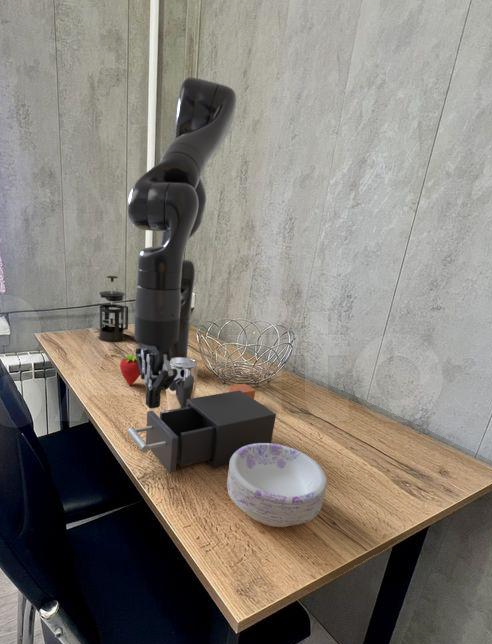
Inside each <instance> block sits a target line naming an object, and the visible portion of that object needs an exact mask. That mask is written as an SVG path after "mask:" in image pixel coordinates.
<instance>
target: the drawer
mask: <svg viewBox="0 0 492 644" xmlns="http://www.w3.org/2000/svg"><path fill="white" fill-rule="evenodd" d="M126 431H127V434H128V436H129V437H130V438H131V439H132V440H133V442H134V443H135V444H136V446H137V447H138V449H140V451H141V452H142V453H144V454H145V453H147V452H148V451H151V452H152V454H154V455H155V457H156V458H157V459H158V460H159V462H160V463H161V464H162V465H163V467H164V468H165V469H166V471H168V473H169V474H173V473H176V472H177V471H176V470H177V465H178V466H179V467H185V466H189V465H194V464H196V463H201V462H205V461H207V460H209V459H213V452H214V444H215V435H216V427H215V426H214V425H212V424H211V423H210V422H209V421H208V420H206V419H205V418H204V417H203V416H202V415H201V414H199V413H198V412H197V411H196V410H195V409H194V408H192V407H191V406H190V407H185V408H179V409H173V410H168V411H167V410H162V411H159V416H158V415H157V413H156V412H155V411H154V410H148V411H147V412H146V426H144V427H138V428H134V427H132V426H130V427H128V428H127V430H126ZM143 432H145V440H144V439H143V438H142V437H141V435H140V434H139V433H143Z"/></svg>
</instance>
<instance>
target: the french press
mask: <svg viewBox="0 0 492 644" xmlns="http://www.w3.org/2000/svg"><path fill="white" fill-rule="evenodd" d="M106 279H110V283H111V290H105V291H100V292H99V295H100V298H101V299H105V300H106V301H108V302H110V303H105V304H101V305H99V335H98V339H99V340H100V341H104V342H109V343H114V342H121V341H123V340H124V339H125V336H124V334H125V333H124V332H125V331H127V330H128V329H129V306H127V305H122V304H116V303H115V302H122V301H123V300H124V296H125V293H124V292H122V291H115V290H113V286H114V285H113V284H114V280H115V279H119V277H118V276H117V275H107V276H106ZM113 302H114V303H113ZM103 313H104V318H103ZM124 313H125V316H124ZM110 314H111V316H110ZM113 314H114V318H113ZM124 317H125V318H124ZM124 319H125V320H124ZM102 324H103V325H104V327H102ZM124 324H125V325H124Z"/></svg>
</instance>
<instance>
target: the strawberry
mask: <svg viewBox="0 0 492 644" xmlns="http://www.w3.org/2000/svg"><path fill="white" fill-rule="evenodd" d="M134 354H135V351H133V352H132V354H131V355H130V354H126V356H122V358H123V359H121V361H120V364H119V369H120V372H121V375H122V376H123V378H124V380H125V381H126V383H127V384H128V385H129V386H132V385H134V383H136V381H137V380H138V379H139V378H140V377H141V375H140V371H139V366H138V362H137V357H136V356H135V355H134Z"/></svg>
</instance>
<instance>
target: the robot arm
mask: <svg viewBox="0 0 492 644" xmlns="http://www.w3.org/2000/svg"><path fill="white" fill-rule="evenodd" d="M236 109H237V94H236V91H235V89H233V87H230V86H228V85H225V84H222V83H218V82H214V81H210V80H206V79H202V78H197V77H194V76H193V77H192V76H189V77H187V78H185V79H184V80H183V81H182V84H181V86H180V88H179V92H178V96H177V101H176V108H175V120H174V133H173V140H172V142H171V143H170V144H169V145H168V146H167V148H166V150H165V152H164V153H163V155H162V157H161V159H160V160H159V161H160V162H159V163H157V164H155V165H154V166H153V167H151V168H150V169H149V170H148V171H146V172H145V173H144V174H143V175H142V176H140V177H139V178H138V179H137V181H136V182H135V183H134V185H133V186H132V187H131V189H130V192H129V195H128V198H127V202H126V205H127V207H126V208H127V215H128V218H129V220H130V222H131V223H132V225H133V226H135V227H136V228H137V229H140V230H143V231H149V232H151V231H152V232H162V233H161V242H160V245H156V246H148V247H143V248H142V249H141V250H140V252H139V253H138V259H137V261H138V262H137V285H136V291H135V292H136V293H135V298H134V299H135V302H134V328H133V329H134V331H133V333H134V334H133V336H131V335H129V334H128V333H127V334H126V333H124V337H127V338H130V339H132V340H134V341H135V342H137V343H138V344H139V348H138V347H137V348H135V350H134V354H135V357H137V362H138V366H139V371H140V379H141V380H142V381H143V380H144V381H143V384H144V387H145V388H146V390H145V405H146V406H147V408H149V409H157V408H160V407H161V394H162V391H166V389H168V388H169V386H170V385H171V383H172V382H173V380H174V379H175V377H176V376H177V374H178V372H177V369H176V368H175V369H172V368H171V365H170V363H169V362H170V360H171V358H174V357H186V358H188V349H189V338H190V337H189V334H190V322H191V311H192V303H193V302H192V301H193V293H194V286H195V278H196V267H195V264H194V262H193V261H192V260H191V259H184V256H185V252H186V249H187V245H188V241H189V240H190V239H191V238H192V237H193V236H194V235H195V234H196V233H197V232H198V230H199V228H200V226H201V225H202V222H203V219H204V214H205V209H206V205H207V192H206V188H205V185H204V183H203V180H202V178H201V177H202V176H203V173H204V170H205V168H206V166H207V165H208V163H209V161H210V160H211V158H212V157H213V156H214V155H215V154H216V152H217V150H218V149H219V148H220V147H221V145H222V144H223V142H224V141H225V139H226V138H227V136H228V134H229V132H230V130H231V127H232V125H233V121H234V119H235V118H234V117H235V113H236ZM102 327H105V325H103V324H102Z"/></svg>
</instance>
